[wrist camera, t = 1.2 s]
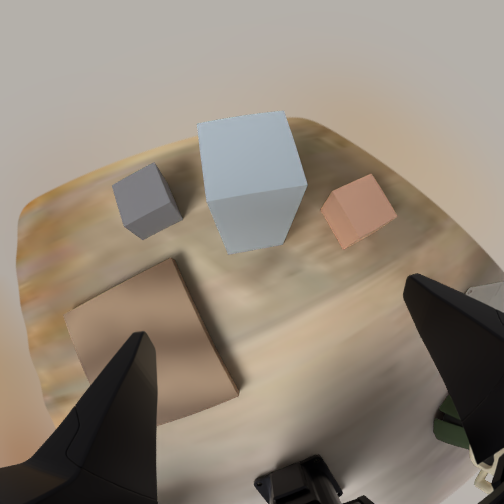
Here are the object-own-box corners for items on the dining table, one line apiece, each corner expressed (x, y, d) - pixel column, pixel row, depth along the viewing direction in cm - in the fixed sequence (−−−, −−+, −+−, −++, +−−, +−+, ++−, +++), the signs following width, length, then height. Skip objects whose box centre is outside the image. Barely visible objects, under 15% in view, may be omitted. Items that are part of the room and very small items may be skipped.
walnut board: (239, 391, 20) (238, 396, 19) (123, 431, 19) (117, 436, 18) (175, 260, 22) (170, 257, 21) (70, 315, 21) (63, 314, 20)
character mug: (448, 360, 20) (548, 373, 7) (485, 367, 20) (571, 376, 7) (408, 458, 18) (482, 514, 5) (451, 455, 17) (521, 493, 5)
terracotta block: (377, 230, 23) (397, 216, 19) (342, 250, 23) (359, 238, 19) (355, 193, 24) (371, 173, 20) (320, 209, 23) (332, 190, 19)
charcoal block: (183, 219, 23) (170, 202, 19) (143, 240, 23) (124, 226, 19) (167, 183, 24) (154, 162, 20) (130, 203, 24) (111, 185, 20)
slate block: (282, 244, 23) (307, 185, 12) (228, 254, 22) (206, 201, 12) (271, 194, 24) (283, 110, 13) (219, 204, 23) (196, 123, 13)
